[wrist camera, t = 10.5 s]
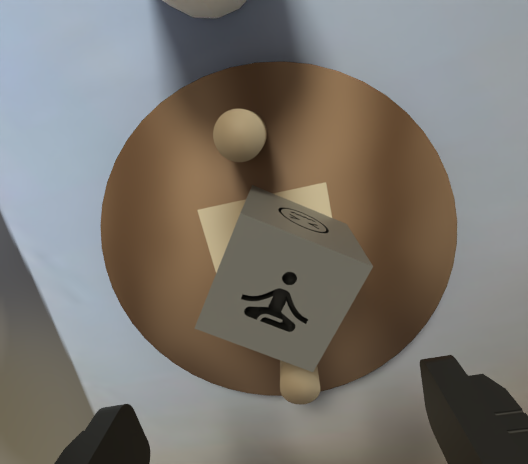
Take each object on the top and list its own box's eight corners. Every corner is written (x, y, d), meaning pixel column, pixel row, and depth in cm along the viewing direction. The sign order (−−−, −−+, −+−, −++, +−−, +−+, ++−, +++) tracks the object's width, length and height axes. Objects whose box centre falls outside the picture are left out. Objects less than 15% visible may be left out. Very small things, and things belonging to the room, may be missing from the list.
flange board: (429, 21, 15) (480, -13, 11) (452, 353, 20) (491, 407, 17) (62, 117, 17) (0, 116, 13) (171, 395, 22) (149, 451, 19)
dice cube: (217, 272, 18) (194, 328, 13) (252, 185, 16) (240, 212, 11) (304, 305, 18) (312, 372, 13) (346, 224, 17) (373, 266, 12)
